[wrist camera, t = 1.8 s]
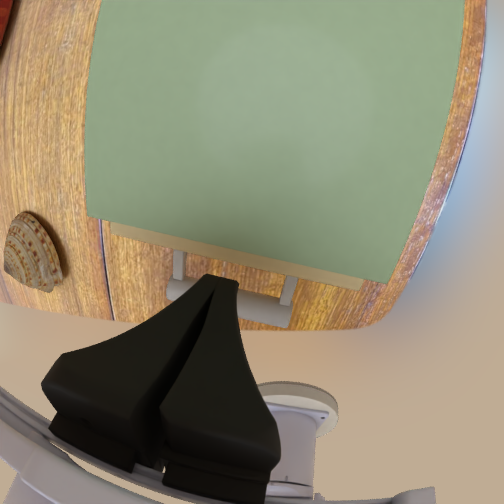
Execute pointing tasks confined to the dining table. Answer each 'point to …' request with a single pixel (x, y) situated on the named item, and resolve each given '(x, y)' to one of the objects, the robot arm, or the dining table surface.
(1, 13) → the planter
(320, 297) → the dining table surface
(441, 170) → the dining table surface
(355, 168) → the cabinet
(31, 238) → the seashell
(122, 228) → the drawer
